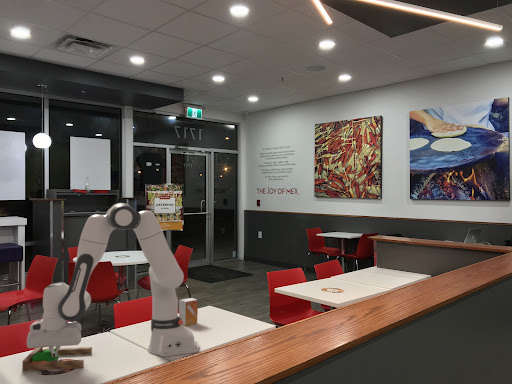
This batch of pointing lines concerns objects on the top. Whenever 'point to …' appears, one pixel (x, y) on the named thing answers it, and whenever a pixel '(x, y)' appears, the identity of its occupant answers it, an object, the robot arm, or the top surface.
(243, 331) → the top surface
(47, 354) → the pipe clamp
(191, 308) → the small box
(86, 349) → the guide channel
